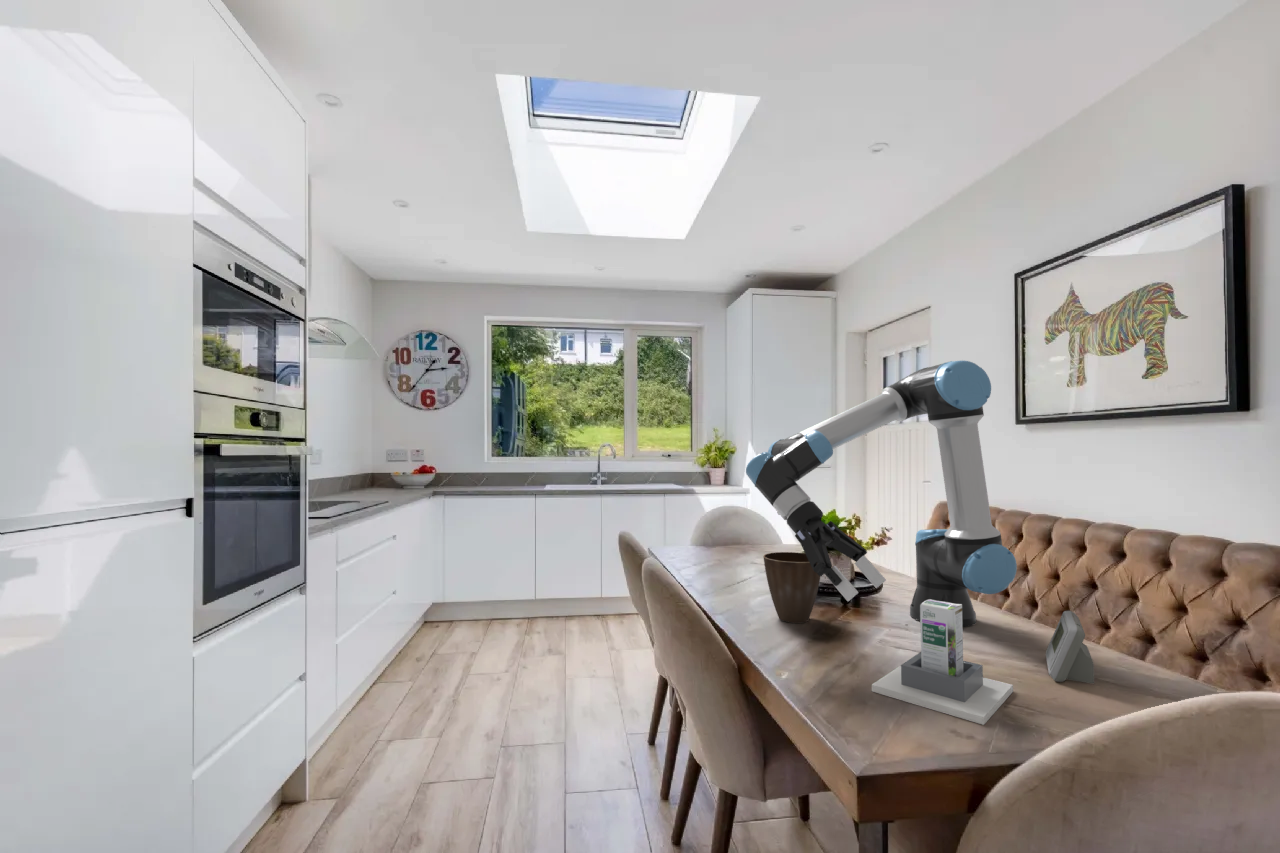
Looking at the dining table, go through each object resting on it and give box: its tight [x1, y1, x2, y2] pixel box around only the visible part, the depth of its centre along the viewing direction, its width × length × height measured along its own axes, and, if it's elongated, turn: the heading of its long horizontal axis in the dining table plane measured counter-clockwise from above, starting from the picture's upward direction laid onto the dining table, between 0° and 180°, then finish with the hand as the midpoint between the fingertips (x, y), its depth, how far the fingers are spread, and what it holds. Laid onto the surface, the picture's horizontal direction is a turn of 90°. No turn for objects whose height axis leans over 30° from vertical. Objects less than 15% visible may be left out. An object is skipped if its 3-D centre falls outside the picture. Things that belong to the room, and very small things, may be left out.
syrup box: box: [919, 599, 964, 677], centre depth 105 cm, size 6×6×14 cm
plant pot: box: [762, 551, 821, 624], centre depth 149 cm, size 15×15×16 cm
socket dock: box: [871, 651, 1014, 726], centre depth 104 cm, size 18×18×5 cm
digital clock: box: [1045, 610, 1095, 685], centre depth 114 cm, size 16×9×11 cm, turn 136°
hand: (867, 590), depth 117 cm, fingers open, 13 cm apart
